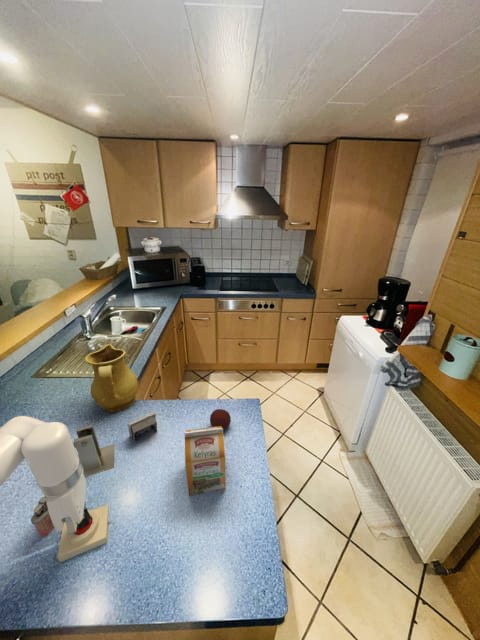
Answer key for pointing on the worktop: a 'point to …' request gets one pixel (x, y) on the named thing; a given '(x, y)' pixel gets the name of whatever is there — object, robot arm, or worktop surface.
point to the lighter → (42, 518)
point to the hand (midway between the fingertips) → (82, 523)
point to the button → (83, 529)
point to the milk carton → (205, 460)
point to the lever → (84, 434)
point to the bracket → (93, 453)
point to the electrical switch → (142, 425)
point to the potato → (220, 418)
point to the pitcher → (112, 379)
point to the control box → (85, 535)
